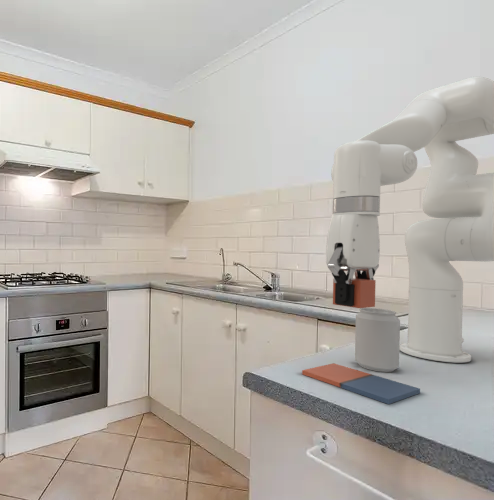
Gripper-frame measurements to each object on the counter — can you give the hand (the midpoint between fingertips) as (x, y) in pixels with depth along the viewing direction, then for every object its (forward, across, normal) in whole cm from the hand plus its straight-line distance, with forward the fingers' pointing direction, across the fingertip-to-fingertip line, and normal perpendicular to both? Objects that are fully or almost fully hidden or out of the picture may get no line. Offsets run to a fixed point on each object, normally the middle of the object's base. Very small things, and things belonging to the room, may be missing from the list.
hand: (353, 303), depth 69 cm
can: (+14, -11, -1) cm, 18 cm away
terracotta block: (0, 0, 0) cm, 0 cm away
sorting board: (+14, +2, +2) cm, 14 cm away
